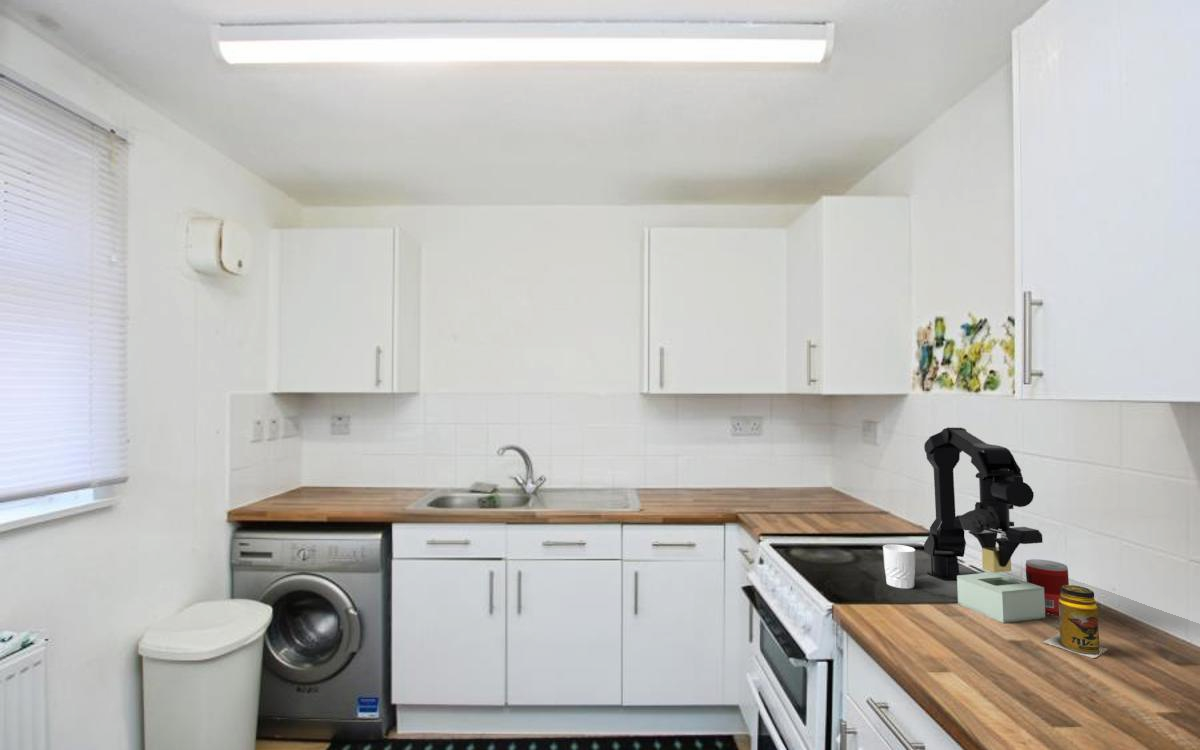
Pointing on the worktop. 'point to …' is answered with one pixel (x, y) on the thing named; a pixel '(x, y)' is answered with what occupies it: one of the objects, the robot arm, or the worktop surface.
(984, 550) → the yellow block
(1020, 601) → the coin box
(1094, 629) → the condiment
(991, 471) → the robot arm
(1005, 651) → the worktop surface
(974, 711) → the worktop surface
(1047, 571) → the canned food
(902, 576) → the white cup
